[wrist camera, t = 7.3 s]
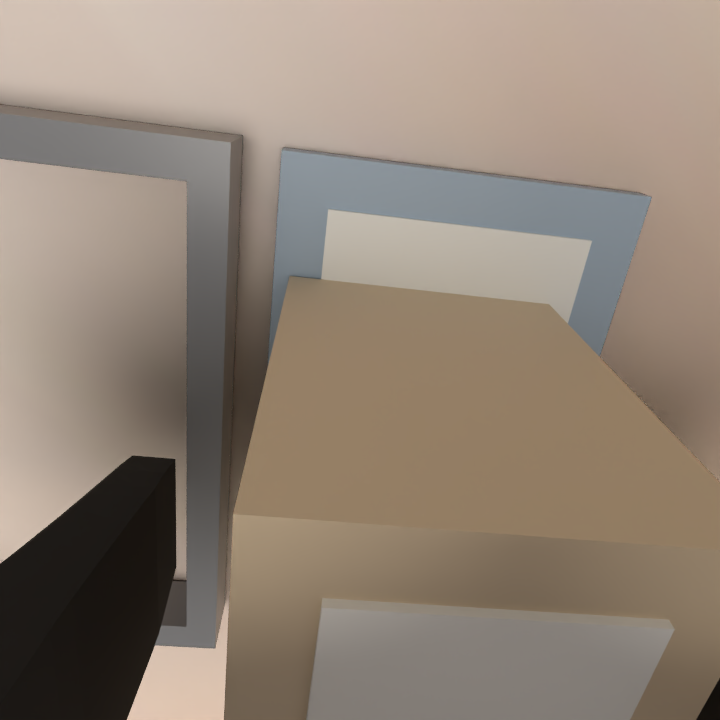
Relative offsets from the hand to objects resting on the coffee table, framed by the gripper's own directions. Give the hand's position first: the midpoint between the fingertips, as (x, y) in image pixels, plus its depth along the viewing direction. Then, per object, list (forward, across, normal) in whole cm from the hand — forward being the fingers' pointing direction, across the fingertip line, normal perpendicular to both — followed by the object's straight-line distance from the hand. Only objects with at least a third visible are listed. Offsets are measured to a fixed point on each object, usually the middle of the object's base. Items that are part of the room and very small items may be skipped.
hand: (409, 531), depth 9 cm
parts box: (+2, 0, 0) cm, 2 cm away
